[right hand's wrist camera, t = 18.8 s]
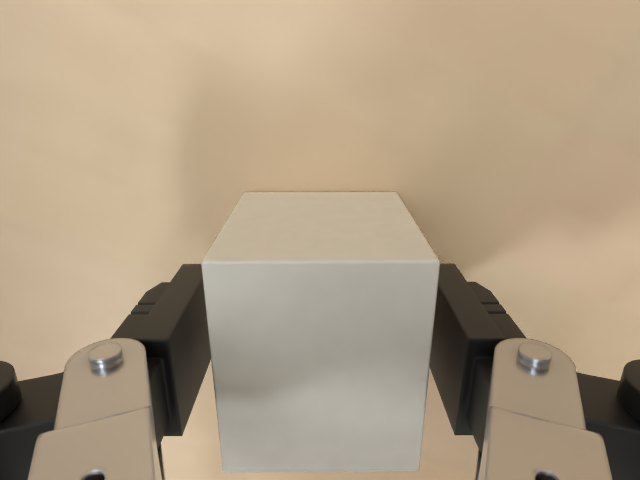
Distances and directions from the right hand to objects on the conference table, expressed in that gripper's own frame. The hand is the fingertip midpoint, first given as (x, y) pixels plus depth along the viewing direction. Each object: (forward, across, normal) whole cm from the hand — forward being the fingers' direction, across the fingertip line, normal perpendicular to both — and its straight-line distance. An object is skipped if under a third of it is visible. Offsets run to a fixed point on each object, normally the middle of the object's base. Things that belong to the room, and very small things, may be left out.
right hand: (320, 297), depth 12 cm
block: (+2, 0, 0) cm, 2 cm away
